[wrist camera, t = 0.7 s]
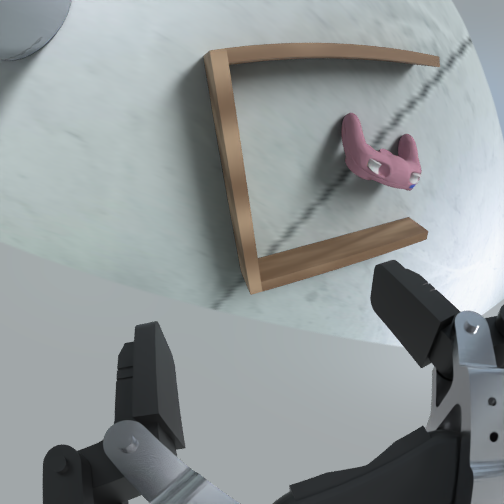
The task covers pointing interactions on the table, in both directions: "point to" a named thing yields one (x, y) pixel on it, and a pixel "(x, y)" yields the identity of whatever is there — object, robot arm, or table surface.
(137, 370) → the robot arm
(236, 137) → the wooden u-shaped frame
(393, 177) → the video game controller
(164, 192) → the table surface
